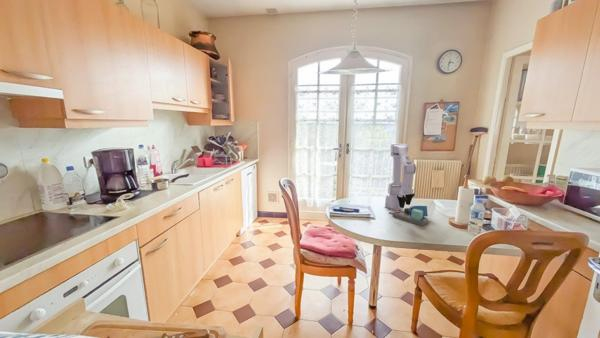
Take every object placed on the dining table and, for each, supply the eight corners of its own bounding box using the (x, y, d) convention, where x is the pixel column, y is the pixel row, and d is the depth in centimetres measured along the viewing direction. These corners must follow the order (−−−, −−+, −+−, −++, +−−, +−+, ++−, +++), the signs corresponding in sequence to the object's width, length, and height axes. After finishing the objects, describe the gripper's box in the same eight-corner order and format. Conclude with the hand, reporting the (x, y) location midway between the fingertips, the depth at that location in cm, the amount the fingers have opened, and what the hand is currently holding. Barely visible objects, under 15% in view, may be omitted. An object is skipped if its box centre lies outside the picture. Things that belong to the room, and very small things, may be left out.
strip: (386, 214, 155) (386, 210, 154) (391, 212, 159) (392, 207, 158) (422, 227, 138) (422, 222, 137) (427, 223, 143) (427, 218, 142)
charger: (410, 221, 144) (411, 210, 143) (413, 219, 147) (414, 208, 145) (418, 224, 141) (420, 212, 139) (421, 222, 143) (423, 211, 142)
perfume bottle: (427, 216, 147) (408, 215, 146) (422, 216, 153) (403, 215, 152) (426, 205, 148) (407, 205, 148) (421, 206, 154) (402, 206, 154)
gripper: (408, 187, 133) (405, 211, 136) (419, 183, 143) (416, 205, 146) (395, 185, 138) (393, 207, 141) (407, 180, 148) (405, 202, 151)
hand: (404, 206), depth 144 cm, fingers open, 7 cm apart
